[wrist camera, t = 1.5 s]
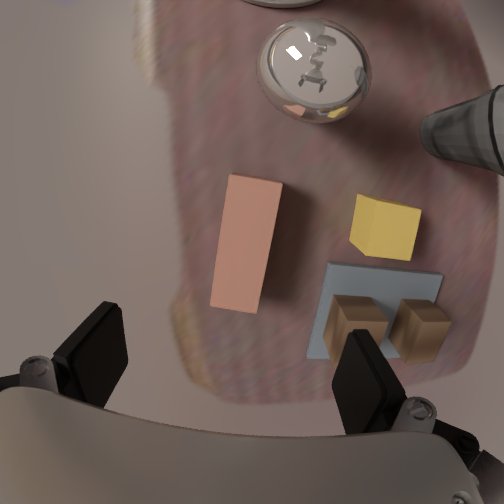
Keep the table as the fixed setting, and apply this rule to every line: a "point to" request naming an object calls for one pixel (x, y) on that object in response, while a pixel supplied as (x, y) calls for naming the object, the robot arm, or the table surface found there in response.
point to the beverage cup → (469, 132)
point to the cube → (384, 227)
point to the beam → (244, 241)
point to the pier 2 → (418, 331)
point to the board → (377, 288)
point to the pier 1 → (351, 322)
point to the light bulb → (313, 70)
